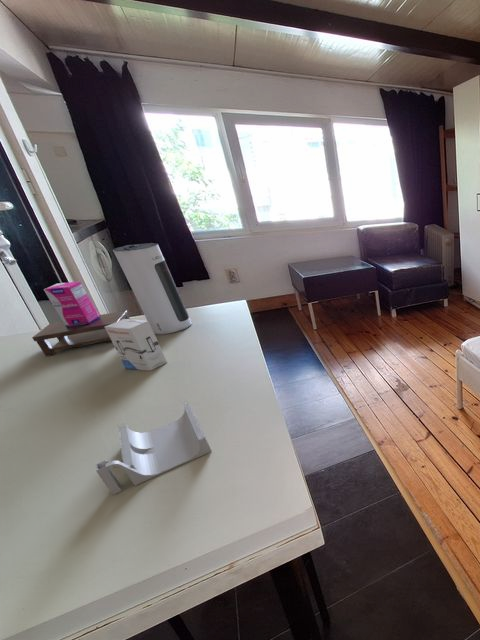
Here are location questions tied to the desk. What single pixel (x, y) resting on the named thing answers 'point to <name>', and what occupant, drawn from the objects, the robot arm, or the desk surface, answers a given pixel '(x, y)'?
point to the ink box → (136, 344)
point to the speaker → (153, 287)
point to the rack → (77, 333)
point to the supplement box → (72, 303)
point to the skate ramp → (156, 450)
